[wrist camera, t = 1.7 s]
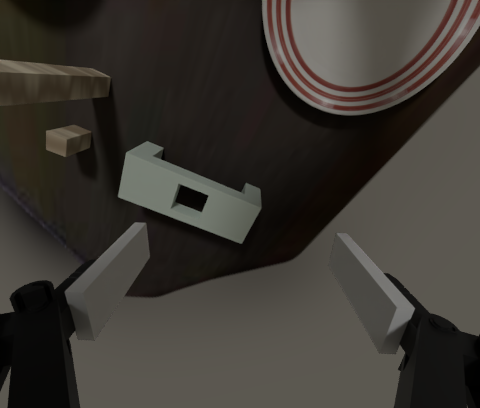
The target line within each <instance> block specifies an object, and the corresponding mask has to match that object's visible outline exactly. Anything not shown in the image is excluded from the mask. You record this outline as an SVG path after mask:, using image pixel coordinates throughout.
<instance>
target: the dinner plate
mask: <svg viewBox="0 0 480 408" xmlns="http://www.w3.org/2000/svg"><path fill="white" fill-rule="evenodd" d="M262 16H263V25H264V32H265V37H266V42H267V46H268V49H269V52H270V55H271V58H272V60H273V63H274V65H275V67H276V69H277V71H278V73H279V74H280V76H281V78H282V79H283V80H284V82H285V83H286V85H287V86H288V87H289V88H290V89H291V91H292V92H293V93H294V94H296V95H297V96H298V97H299V98H300V99H302V100H303V101H304V102H306V103H307V104H309V105H311V106H313V107H315V108H317V109H319V110H322V111H324V112H328V113H332V114H337V115H349V116H351V115H363V114H369V113H374V112H377V111H381V110H384V109H386V108H389V107H392V106H394V105H396V104H398V103H400V102H402V101H404V100H406V99H408V98H410V97H411V96H413V95H414V94H416V93H417V92H419V91H420V90H422V89H423V88H425V87H426V86H427V85H428V84H430V83H431V82H432V81H433V80H435V79H436V78H437V77H438V76H439V75H440V74H441V73H442V72H443V71H444V70H445V69H446V68H447V67H448V66H449V65H450V64H451V63H452V62H453V61H454V60H455V59H456V57H457V56H458V55H459V54H460V53H461V52H462V50H463V49H464V48H465V46H466V45H467V44H468V42H469V41H470V39H471V38H472V37H473V35H474V33H475V32H476V30H477V29H478V27H479V26H480V0H262Z"/></svg>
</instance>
